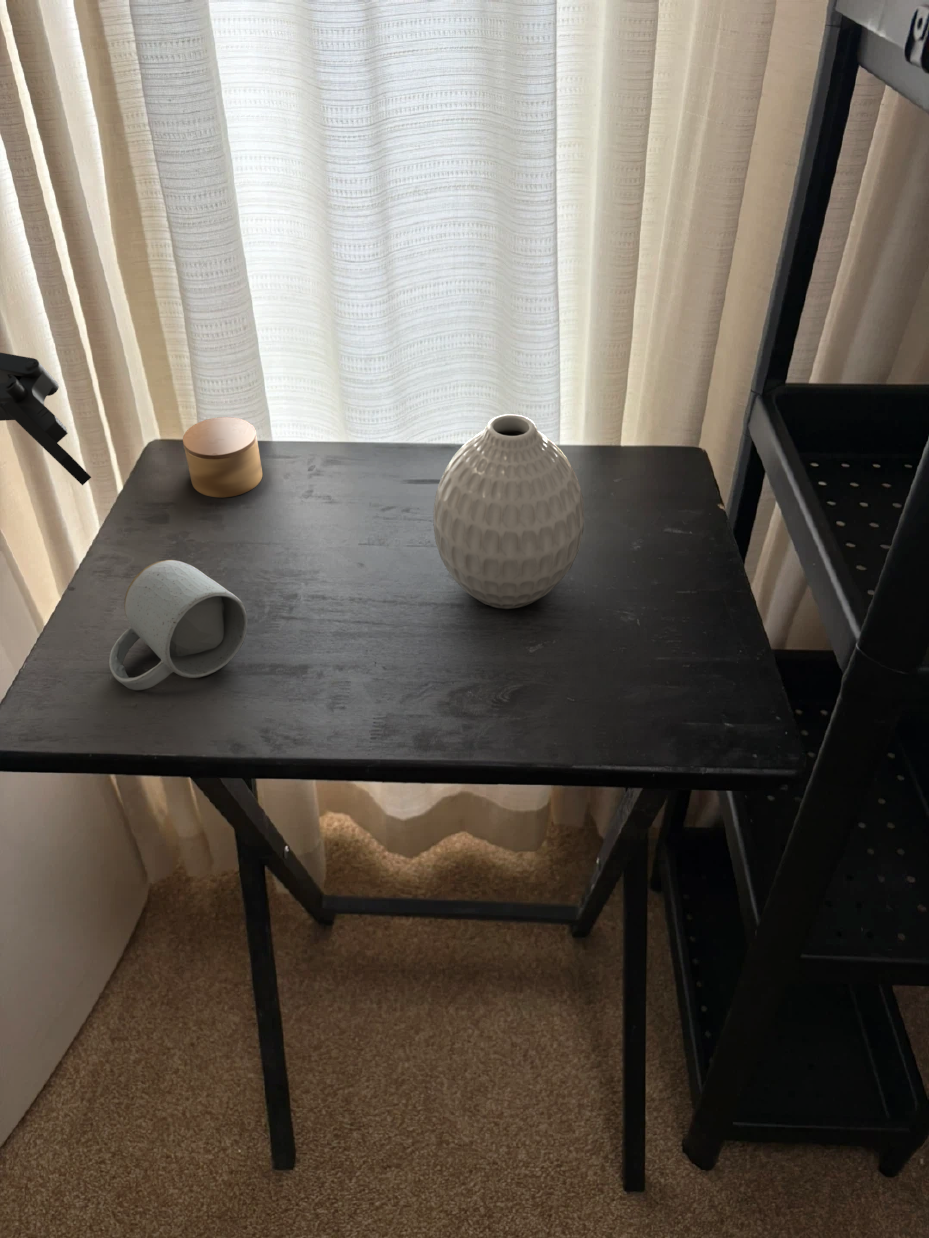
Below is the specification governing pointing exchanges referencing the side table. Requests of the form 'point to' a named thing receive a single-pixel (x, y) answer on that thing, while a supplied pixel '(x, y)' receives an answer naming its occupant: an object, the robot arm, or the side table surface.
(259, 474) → the oak stand
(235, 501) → the side table surface
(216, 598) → the ceramic mug
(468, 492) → the vase
